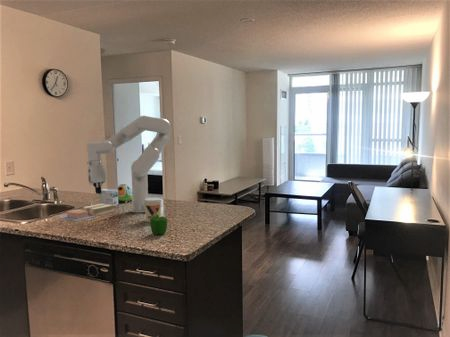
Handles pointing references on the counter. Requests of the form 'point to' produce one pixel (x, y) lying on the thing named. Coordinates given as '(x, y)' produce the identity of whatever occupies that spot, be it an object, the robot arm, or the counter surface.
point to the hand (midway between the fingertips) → (98, 193)
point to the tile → (77, 214)
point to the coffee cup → (152, 207)
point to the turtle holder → (124, 192)
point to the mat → (75, 218)
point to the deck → (98, 209)
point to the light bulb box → (109, 196)
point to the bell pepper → (158, 224)
